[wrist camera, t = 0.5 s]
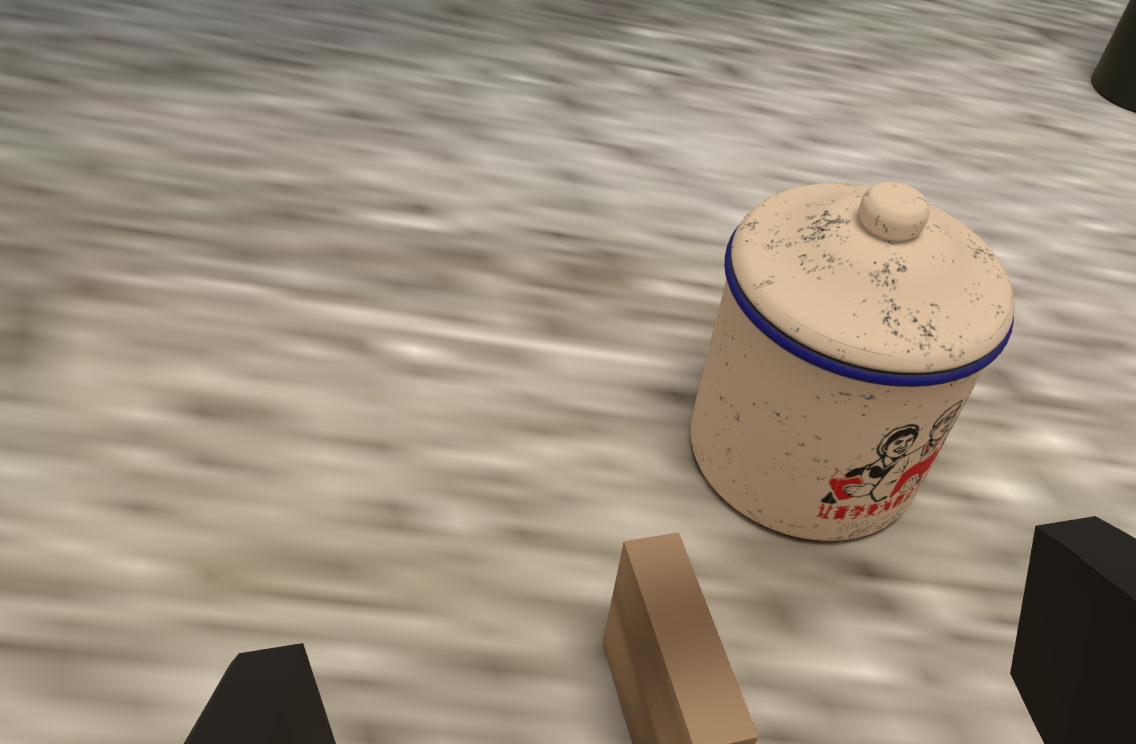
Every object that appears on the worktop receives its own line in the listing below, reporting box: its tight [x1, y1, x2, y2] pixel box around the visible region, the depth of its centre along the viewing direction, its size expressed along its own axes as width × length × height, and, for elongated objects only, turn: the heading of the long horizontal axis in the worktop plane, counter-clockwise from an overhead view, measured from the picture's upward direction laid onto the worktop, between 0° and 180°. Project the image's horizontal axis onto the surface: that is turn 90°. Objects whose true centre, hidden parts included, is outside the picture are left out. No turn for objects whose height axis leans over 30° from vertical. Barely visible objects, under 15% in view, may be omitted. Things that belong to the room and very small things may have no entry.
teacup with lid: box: [690, 182, 1014, 541], centre depth 34 cm, size 12×9×12 cm
